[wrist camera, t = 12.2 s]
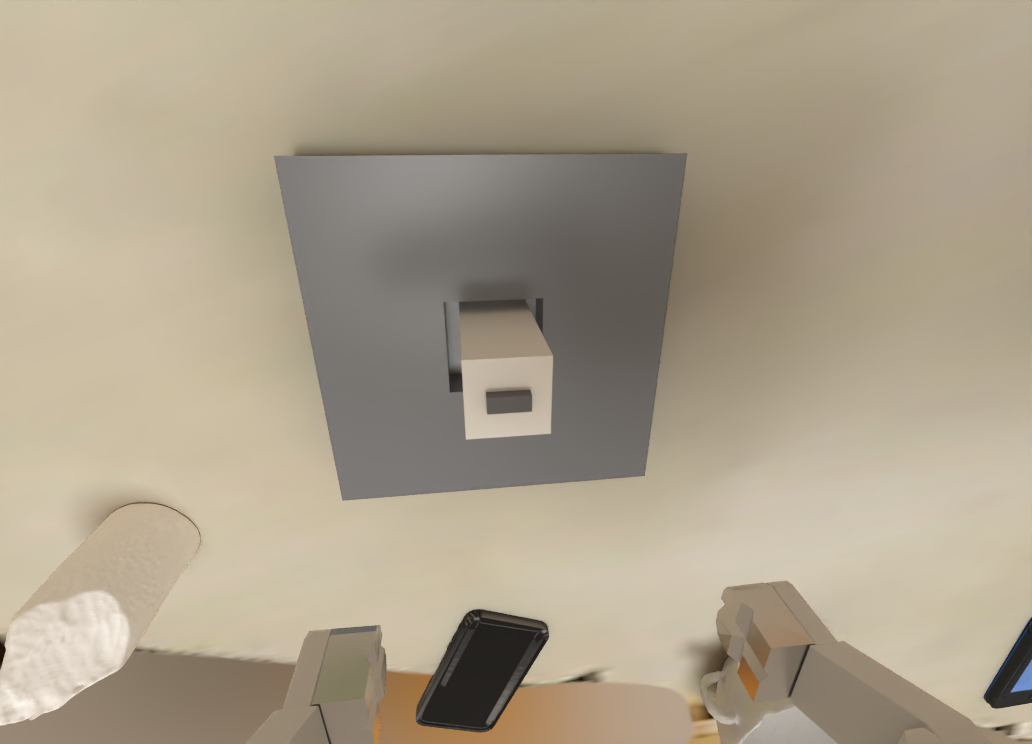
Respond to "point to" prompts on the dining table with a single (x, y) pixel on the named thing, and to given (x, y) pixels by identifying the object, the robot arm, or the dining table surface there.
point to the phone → (481, 671)
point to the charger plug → (504, 370)
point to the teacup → (755, 714)
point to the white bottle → (93, 609)
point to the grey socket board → (482, 277)
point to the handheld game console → (1014, 676)
